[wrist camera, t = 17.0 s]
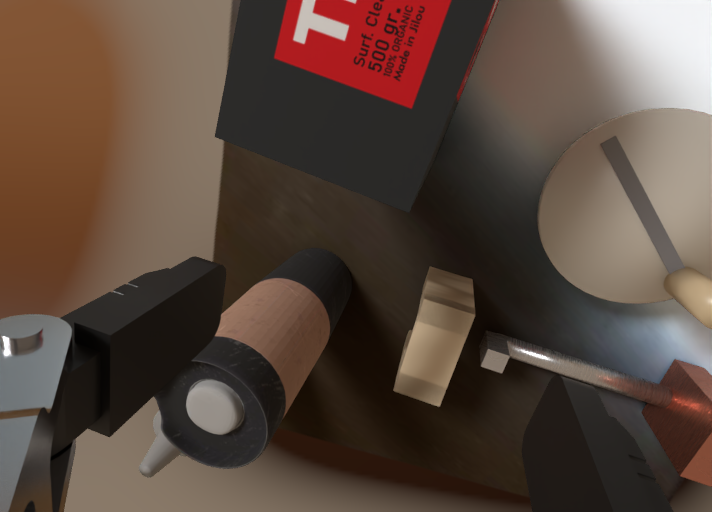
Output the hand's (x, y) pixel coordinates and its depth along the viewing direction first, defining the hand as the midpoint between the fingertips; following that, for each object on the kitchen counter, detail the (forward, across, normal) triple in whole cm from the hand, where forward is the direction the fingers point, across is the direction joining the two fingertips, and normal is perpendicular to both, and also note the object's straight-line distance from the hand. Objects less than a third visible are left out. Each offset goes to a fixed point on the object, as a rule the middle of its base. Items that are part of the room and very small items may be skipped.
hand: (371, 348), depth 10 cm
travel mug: (+28, +8, +13) cm, 32 cm away
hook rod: (+28, -17, +13) cm, 35 cm away
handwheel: (+25, -15, -2) cm, 29 cm away
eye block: (+28, -4, +12) cm, 31 cm away
